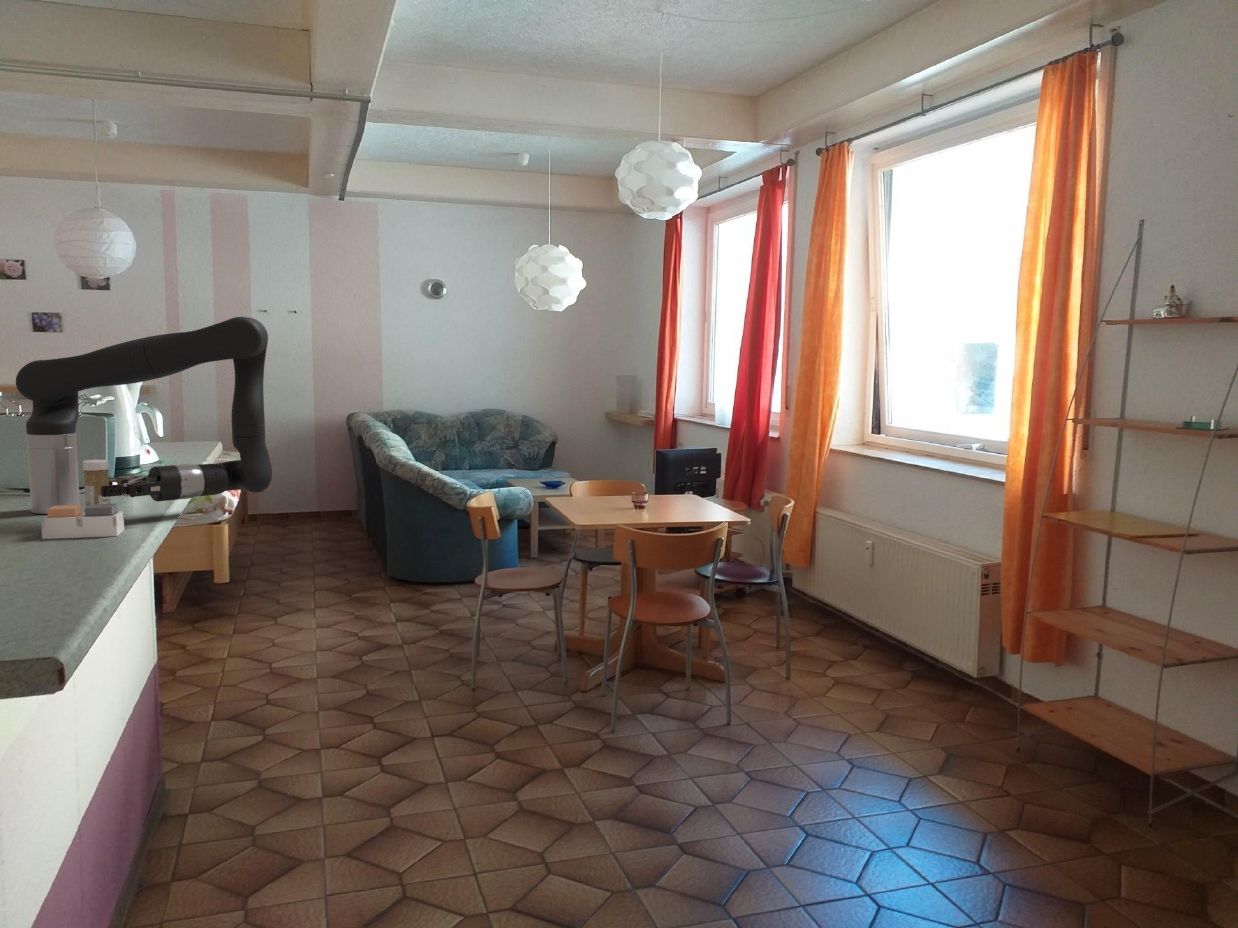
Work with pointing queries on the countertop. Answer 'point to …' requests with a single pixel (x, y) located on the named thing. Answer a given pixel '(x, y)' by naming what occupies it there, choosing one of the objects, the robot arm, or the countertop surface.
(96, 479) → the sprinkles bottle
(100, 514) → the key charcoal
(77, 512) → the key terracotta
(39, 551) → the countertop surface
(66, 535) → the keypad
